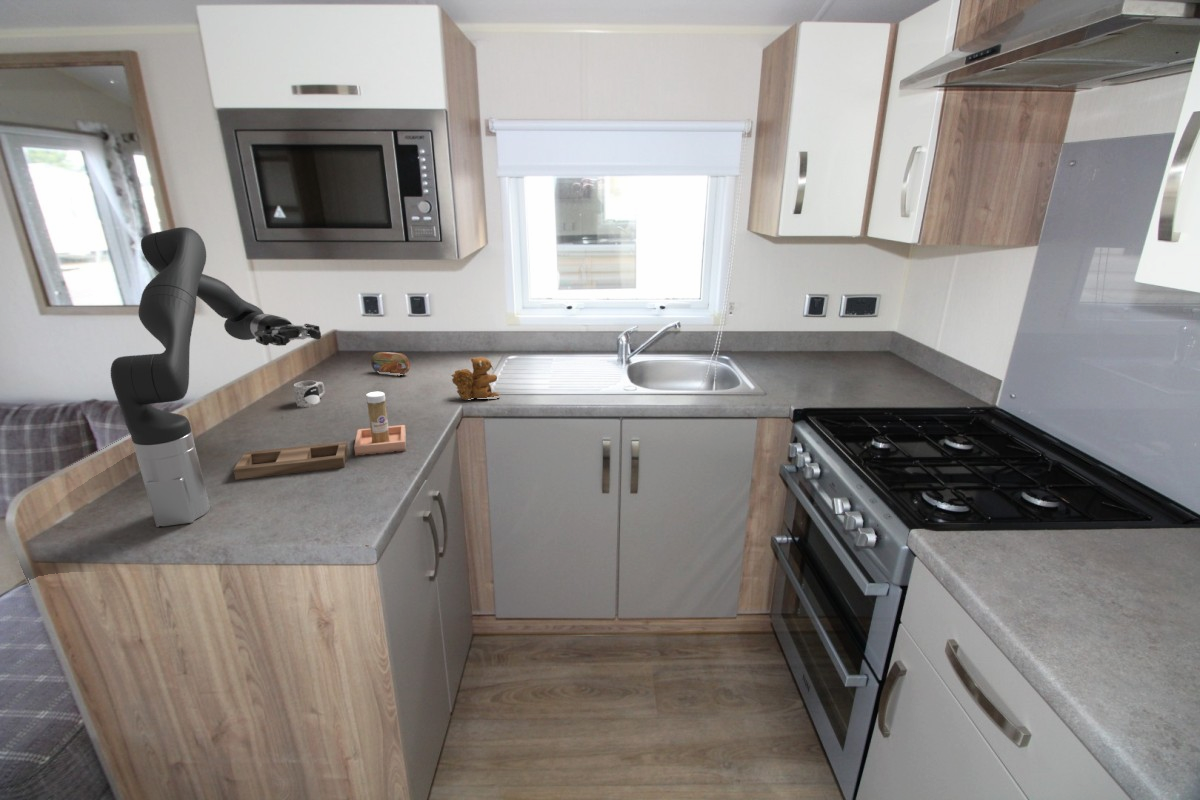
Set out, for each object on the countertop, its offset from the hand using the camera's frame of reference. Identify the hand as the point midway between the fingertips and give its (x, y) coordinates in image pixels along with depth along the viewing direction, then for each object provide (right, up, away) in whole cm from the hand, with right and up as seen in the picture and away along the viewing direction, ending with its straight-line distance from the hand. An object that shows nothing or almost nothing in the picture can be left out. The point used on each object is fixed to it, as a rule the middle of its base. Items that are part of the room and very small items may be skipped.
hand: (302, 338), depth 141 cm
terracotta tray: (+17, -27, +8) cm, 33 cm away
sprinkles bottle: (+17, -27, +8) cm, 32 cm away
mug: (-17, -16, +38) cm, 45 cm away
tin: (-2, -6, +68) cm, 68 cm away
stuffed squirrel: (+34, -15, +45) cm, 58 cm away
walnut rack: (0, -31, -4) cm, 31 cm away
